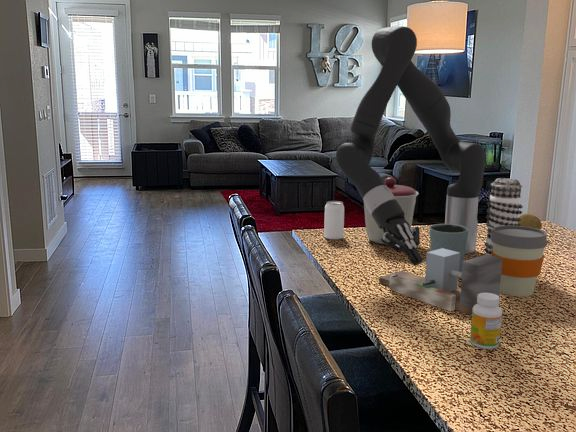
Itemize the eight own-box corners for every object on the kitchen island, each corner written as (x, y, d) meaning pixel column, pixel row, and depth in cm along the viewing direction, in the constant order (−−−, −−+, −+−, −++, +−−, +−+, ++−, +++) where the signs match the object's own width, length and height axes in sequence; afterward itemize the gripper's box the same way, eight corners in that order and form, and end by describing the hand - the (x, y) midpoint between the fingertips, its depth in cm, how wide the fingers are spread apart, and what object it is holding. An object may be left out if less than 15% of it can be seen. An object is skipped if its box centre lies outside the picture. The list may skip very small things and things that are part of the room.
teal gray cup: (465, 267, 157) (469, 225, 155) (464, 277, 148) (468, 233, 146) (428, 263, 161) (431, 222, 158) (425, 273, 151) (427, 230, 149)
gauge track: (374, 284, 143) (375, 240, 140) (402, 276, 149) (404, 233, 147) (470, 318, 121) (474, 267, 119) (498, 307, 128) (502, 258, 125)
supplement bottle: (465, 338, 111) (469, 291, 109) (491, 337, 112) (495, 290, 110) (476, 350, 106) (480, 301, 104) (504, 349, 107) (508, 300, 105)
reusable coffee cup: (536, 302, 131) (543, 240, 127) (481, 292, 137) (486, 232, 134) (545, 287, 141) (551, 229, 138) (493, 278, 148) (498, 223, 144)
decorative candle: (475, 268, 156) (483, 179, 151) (489, 261, 162) (497, 175, 157) (508, 276, 150) (517, 183, 144) (521, 268, 156) (530, 179, 151)
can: (342, 240, 185) (343, 204, 182) (322, 239, 186) (323, 203, 184) (344, 235, 191) (345, 201, 189) (325, 234, 192) (326, 200, 190)
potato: (512, 234, 195) (514, 211, 193) (535, 235, 194) (537, 212, 192) (517, 239, 188) (519, 215, 187) (541, 240, 187) (543, 216, 186)
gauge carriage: (414, 291, 132) (416, 254, 130) (440, 283, 138) (442, 248, 136) (443, 301, 126) (446, 263, 124) (468, 292, 132) (471, 255, 130)
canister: (375, 231, 197) (377, 172, 193) (424, 239, 187) (428, 176, 182) (349, 242, 183) (351, 178, 178) (401, 251, 172) (404, 183, 168)
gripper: (373, 201, 139) (410, 260, 132) (408, 195, 147) (445, 251, 140) (357, 218, 144) (392, 276, 137) (392, 212, 152) (426, 266, 145)
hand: (418, 263), depth 138 cm, fingers closed
